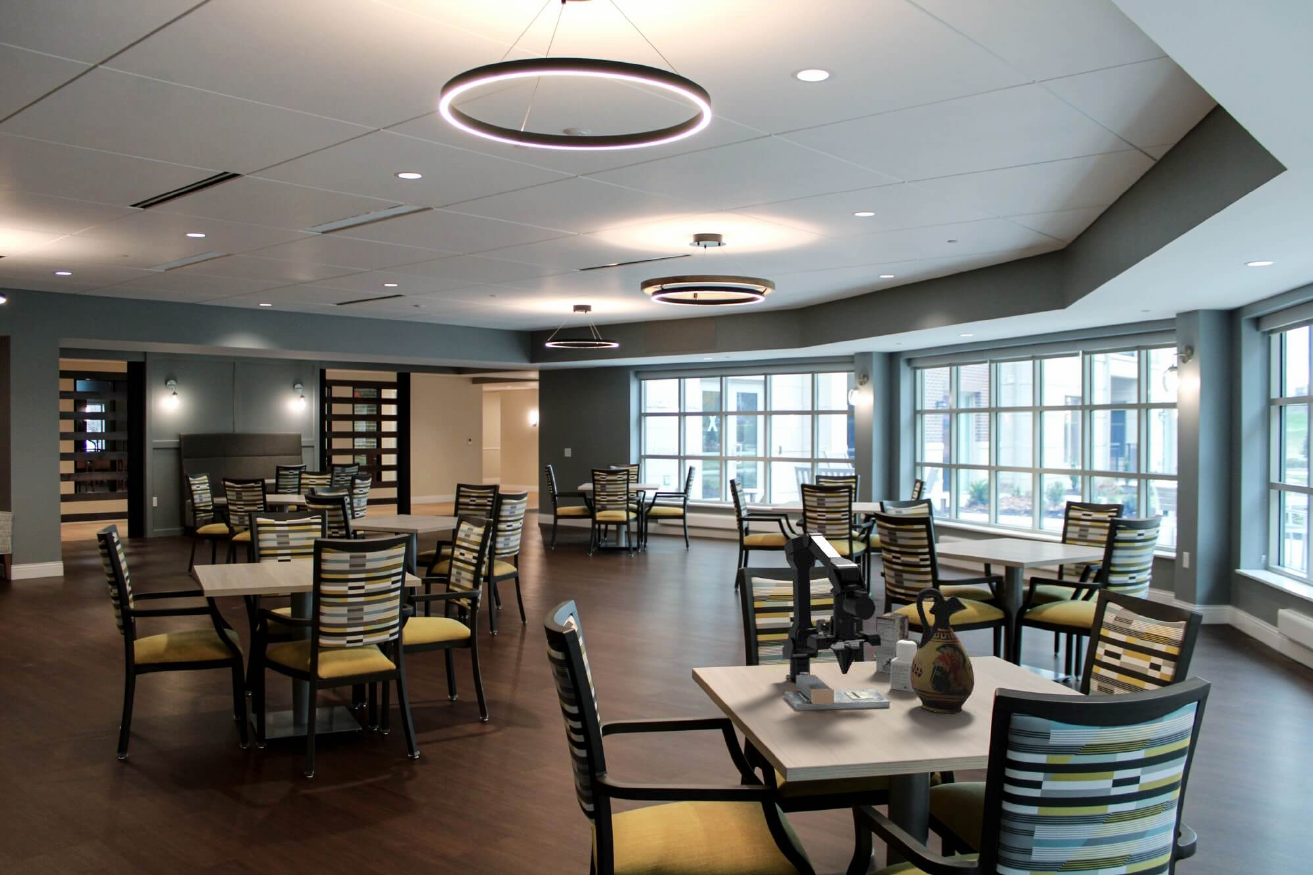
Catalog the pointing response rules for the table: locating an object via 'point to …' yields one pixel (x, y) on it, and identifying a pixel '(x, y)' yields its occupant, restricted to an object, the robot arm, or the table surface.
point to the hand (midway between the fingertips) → (844, 673)
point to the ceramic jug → (941, 658)
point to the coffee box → (889, 638)
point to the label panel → (840, 700)
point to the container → (903, 664)
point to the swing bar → (814, 689)
